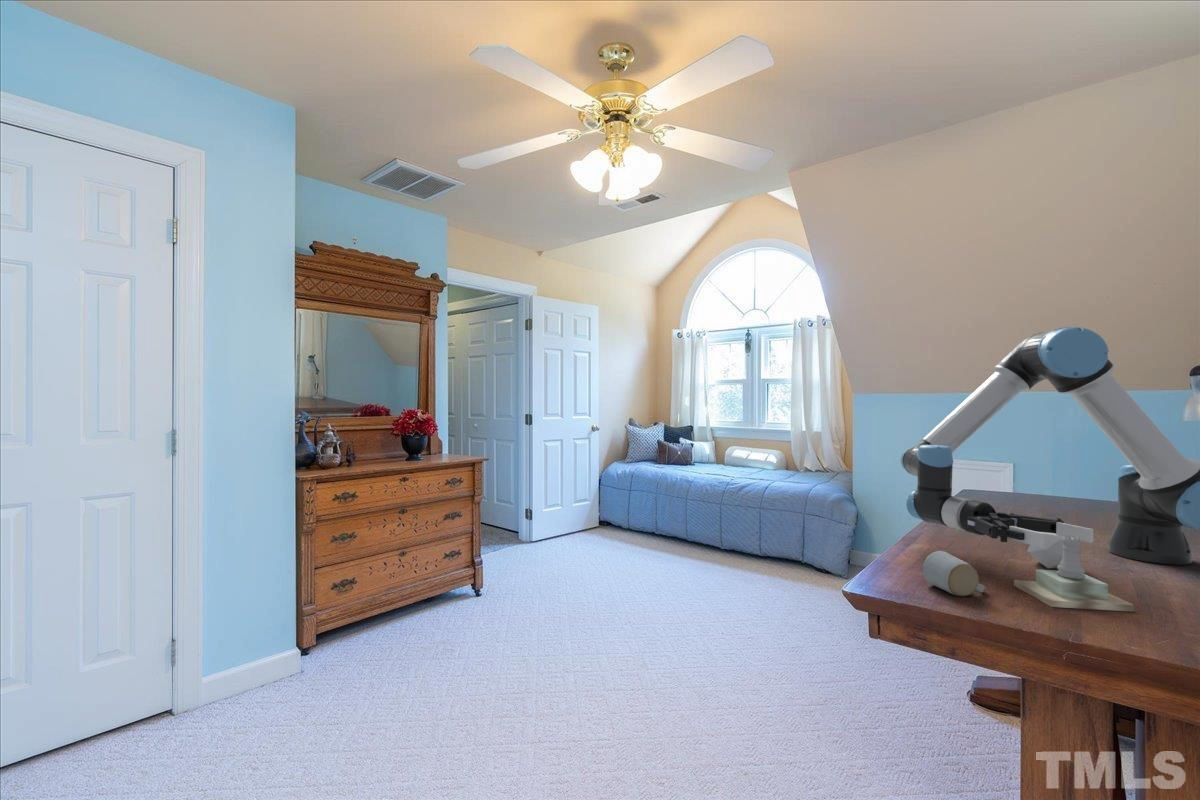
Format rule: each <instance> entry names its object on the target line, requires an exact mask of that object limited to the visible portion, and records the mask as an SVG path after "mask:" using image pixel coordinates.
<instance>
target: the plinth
mask: <svg viewBox="0 0 1200 800" xmlns="http://www.w3.org/2000/svg"><path fill="white" fill-rule="evenodd" d="M1057 571H1058V570H1055V569H1054V570H1053V569H1035V580H1019V579H1013V586H1014V587H1015V588H1017V589H1019V590H1021V591H1022V592H1024V593H1026V594H1027V595H1029V596H1031V597H1032V598H1035V599H1036V600H1038V601H1040V602H1042V603H1044V604H1045V605H1047V606H1049V607H1050V608H1064V609H1066V608H1067V609H1081V610H1084V609H1085V610H1098V611H1099V610H1103V611H1115V612H1116V611H1119V612H1135V605H1134V604H1133V603H1131V602H1128V601H1126V600H1125V599H1122V598H1120V597H1118V596H1115V595H1113V594H1111V593H1109V584H1108V583H1106V582H1103V581H1101V580H1099V579H1096V578H1094V577H1093V576H1089V575H1088V574H1086V573H1084V575H1085V578H1084V579H1082V580H1075V579H1069V578H1064V577H1061V576H1059V575H1058V573H1057Z"/></svg>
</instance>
